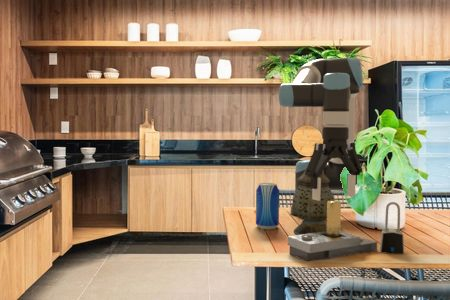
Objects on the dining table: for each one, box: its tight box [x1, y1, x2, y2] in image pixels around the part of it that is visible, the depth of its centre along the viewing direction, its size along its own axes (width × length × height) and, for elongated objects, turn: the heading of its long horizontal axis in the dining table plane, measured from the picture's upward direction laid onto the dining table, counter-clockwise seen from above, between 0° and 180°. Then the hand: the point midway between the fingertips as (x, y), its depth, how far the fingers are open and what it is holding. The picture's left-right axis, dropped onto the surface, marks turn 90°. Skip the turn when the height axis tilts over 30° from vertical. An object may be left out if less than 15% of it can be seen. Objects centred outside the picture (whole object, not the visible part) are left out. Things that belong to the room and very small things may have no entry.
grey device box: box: [287, 230, 378, 262], centre depth 136 cm, size 26×10×6 cm, turn 119°
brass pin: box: [326, 200, 342, 238], centre depth 136 cm, size 4×4×15 cm
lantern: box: [292, 168, 336, 235], centre depth 159 cm, size 14×14×25 cm
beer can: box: [255, 182, 280, 230], centre depth 168 cm, size 8×8×16 cm
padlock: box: [379, 201, 405, 255], centre depth 137 cm, size 7×4×15 cm, turn 75°
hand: (334, 198), depth 136 cm, fingers open, 13 cm apart
